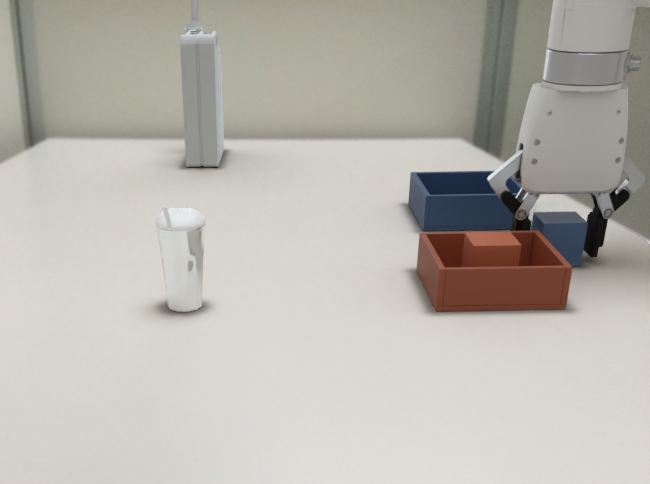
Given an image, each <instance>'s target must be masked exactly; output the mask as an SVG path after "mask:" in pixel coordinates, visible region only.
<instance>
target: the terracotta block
mask: <svg viewBox="0 0 650 484" xmlns="http://www.w3.org/2000/svg"><path fill="white" fill-rule="evenodd" d="M465 232H466V233H465V237H464V246H463V256H462V265H461V267H503V266H519V259H520V252H521V244H520V243H519V241H518V240H517V239H516V238H515V237H514V235H513V234H512V233H511V232H478V231H465Z"/></svg>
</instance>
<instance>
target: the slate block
mask: <svg viewBox="0 0 650 484" xmlns="http://www.w3.org/2000/svg"><path fill="white" fill-rule="evenodd" d="M587 226H588V222H587V220H585V218H583V217H582V216H581V214H579V213H578V212H577V211H576V210H575V211H533V212H532V220H531V230H530V231H534V230H539V231H540V232H541V233H542V235H543V236H544V237H545V238H546V239H547V240H548V241H549V242H550V243H551V244H552V245H553V246H554V248H555V249H556V250H557V251H558V252H559V253H560V254H561V255H562V256H563V257H564V258H565V259H566V261H567V262H568V263H569V264H570V265H571V266H572V267H581V266H582V260H583V254H584V250H583V249H584V243H585V238H586V232H587Z"/></svg>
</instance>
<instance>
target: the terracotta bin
mask: <svg viewBox="0 0 650 484" xmlns="http://www.w3.org/2000/svg"><path fill="white" fill-rule="evenodd" d="M466 232H467V231H423V232H422V231H421V232H419V235H418V245H417V246H418V247H417V248H418V249H417V257H416V258H417V260H416V269H415V271H416V273H417V275H418V277H419V279H420V281H421V284H422V285H423V288H424V289H425V292H426V293H427V296H428V298H429V300H430V302H431V304H432V306H433V309H434V310H435V312H471V311H472V312H473V311H474V312H478V311H482V312H483V311H532V310H533V311H539V310H566V309H567V303H568V297H569V292H570V285H571V280H572V274H573V267H574V266H571V265H570V264H569V263H568V262H567V261H566V259H565V258H564V257H563V256H562V255H561V254H560V253H559V252H558V251H557V250H556V249H555V248H554V246H553V245H552V244H551V243H550V242H549V241H548V240H547V239H546V238H545V237H544V236H543V235H542V233H541V232H540V231H539V230H534V231H531V230H530V231H511V230H477V232H511V233H512V234H513V235H514V237H515V238H516V239H517V240H518V241H519V243H520V244H521V252H520V259H519V266H503V267H461V265H462V256H463V246H464V237H465V233H466Z"/></svg>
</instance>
